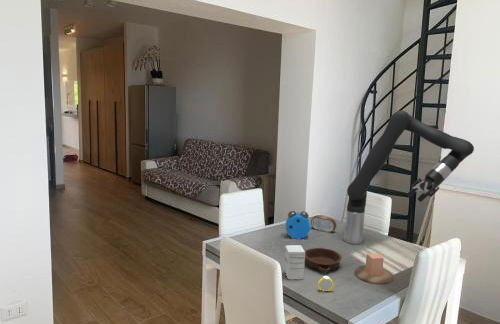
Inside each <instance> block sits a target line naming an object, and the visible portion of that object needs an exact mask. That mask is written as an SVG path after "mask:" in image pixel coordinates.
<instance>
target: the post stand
mask: <svg viewBox="0 0 500 324" xmlns="http://www.w3.org/2000/svg"><path fill="white" fill-rule="evenodd" d="M365 268H366V264H365V265H359V266H357V267H355V269H354V275H355V277H356V278H357V279H359V280H361V281H363V282H366V283H368V284H373V285H387V284H391V283H392V282H393V280H394V275H393V273H392V272H391V271H389V270H388V269H386V268H384V267H383V270H382V276H370V275H369V274H368V273H367V272H366V271H365Z"/></svg>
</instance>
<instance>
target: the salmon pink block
mask: <svg viewBox="0 0 500 324" xmlns="http://www.w3.org/2000/svg"><path fill="white" fill-rule="evenodd" d="M365 257H366V259H365V265H366V268H365V271H366V272H367V273H368V274H369V275H370V276H382V270H383V268H384V257H383V256H382V255H381V254H380V253H378V252H374V253H373V252H372V253H366V256H365Z"/></svg>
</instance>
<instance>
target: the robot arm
mask: <svg viewBox="0 0 500 324" xmlns="http://www.w3.org/2000/svg"><path fill="white" fill-rule="evenodd" d="M404 131H407V132H411V133H413V134H415V135H417V136H419V137H420V138H422V139H424V140H426V141H427V142H429V143H431V144H432V145H435V146H437V147H439V148H441V149H444V150H450V151H449V152H448V154H447V155H446V156H444V157H443V158H442V159H441V160H440V161H439V162H438V163H437V164H435V165H434V166H433V167H432V168H431V169H430V170H429V171H428V172H427V173H426V174H425V175H424V178H423V179H422V178H421V177H420V178H418V179H417V180H415V182H413V183H412V184H411V185H410V188H411V189H410V190H409V191H408V192H407V193H406V195H407V196H408V197H409V198H412V196H413V195H415V194H416V192H421V191H423V192H422V193H421V194H420V195H419V196H418V197H417V201H418V202H419V203H421V202H423V201H424V200H425V199H426V198H427V197H430V198H431V197H433V196H434V195H435V194H437V192H438V191H439V189H440V185H441V184H442V183H443V182H444V181H445V180H446V179H447V178H448V177H449V176H450V175H451V174H452V173H453V172H454V171H455V170H456V169H457V168H458V166H459V165H460V163H462V162H463V161H464V160H465V159H466V158H467V157H469V156H470V155H472V154H473V153H474V151H475V147H474V145H473V143H471V142H470V141H469V140H466V139H464V138H460V137H457V136H453V135H450V134H449V133H447V132H444V131H442V130H440V129H438V128H435V127H433V126H431V125H428V124H426V123H424V122H422V121H420V120H419V119H416V118H415V117H413V116H412V115H410V114H409V113H408V112H407V111H405V110H403V109H401V110H397V111H395V112H393V114H392V115H391V116H390V119H389V121H388V124H387V126H386V127H385V129H384V131H383V133H382V134H381V135H380V137H379V138H378V139H377V141H376V142H375V143H374V145H373V146H372V147H371V149H370V151H368V154H367V156H366V158H365V160H364V161H363V164H362V165H361V168H360V170H359V172H358V174H357V175H356V176H355V178H354V179H353V180H352V182H351V183H350V184H349V185H348V187H347V189H346V190H347V191H346V193H347V196H348V202H347V205H346V217H345V218H346V219H345V223H344V230H343V231H344V232H343V242H346V243H348V244H351V245H361V244H362V243H363V237H364V224H365V213H366V212H365V211H366V205H367V197H368V196H367V194H368V187H369V186H370V184H371V182H372V180H373V179H374V178H375V177H376V175H377V174H378V173H379V172H380V170H381V169H382V168H383V167H384V165H385V163H386V162H387V161H388V159H389V157H390V155H391V154H392V151H393V149H394V148H395V145H396V143H397V141H398V139H399V138H400V136H401V135H402V134H403V132H404Z"/></svg>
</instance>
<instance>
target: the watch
mask: <svg viewBox="0 0 500 324" xmlns="http://www.w3.org/2000/svg"><path fill="white" fill-rule="evenodd" d="M322 281H329V282H331V286H330V288H329V289H330V292H331V291H332V290H333V289H334V281H333V280H332V279H331V278H330V276H329V275H324V276H322V277H321V278H320V279H319V280H318V281H317V286H318V289H319V291H321V289H322V288H321V287H320V283H322Z"/></svg>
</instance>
